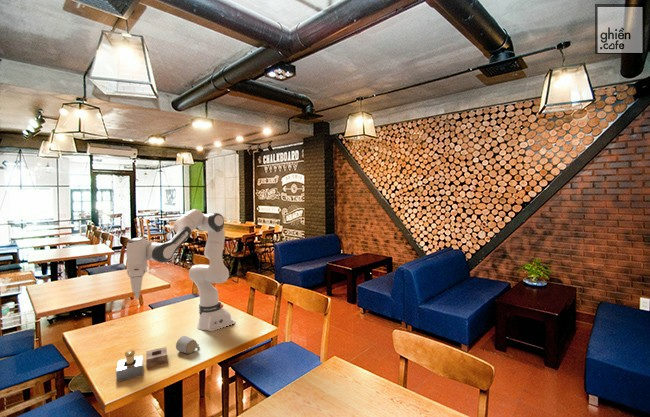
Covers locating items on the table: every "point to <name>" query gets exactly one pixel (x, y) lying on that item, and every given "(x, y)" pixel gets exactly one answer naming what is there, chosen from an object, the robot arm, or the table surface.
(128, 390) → the table surface
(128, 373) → the socket
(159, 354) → the mount
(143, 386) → the table surface
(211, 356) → the table surface
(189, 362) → the table surface
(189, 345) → the ceramic mug
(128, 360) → the pin
